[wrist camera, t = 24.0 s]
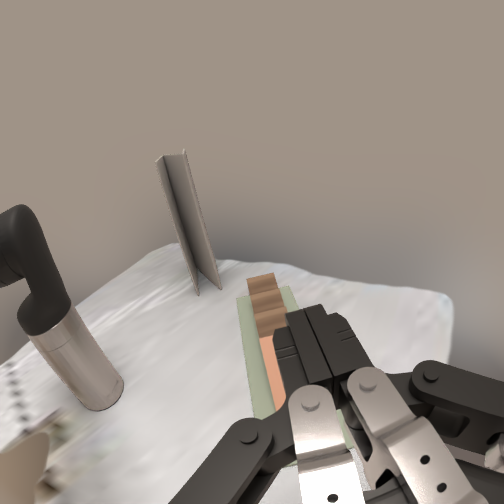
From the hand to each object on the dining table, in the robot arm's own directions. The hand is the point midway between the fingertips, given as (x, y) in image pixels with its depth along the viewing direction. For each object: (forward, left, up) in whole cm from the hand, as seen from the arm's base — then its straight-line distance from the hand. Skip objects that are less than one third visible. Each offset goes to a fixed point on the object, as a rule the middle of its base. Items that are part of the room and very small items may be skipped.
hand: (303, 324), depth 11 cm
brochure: (-28, +44, -26) cm, 59 cm away
